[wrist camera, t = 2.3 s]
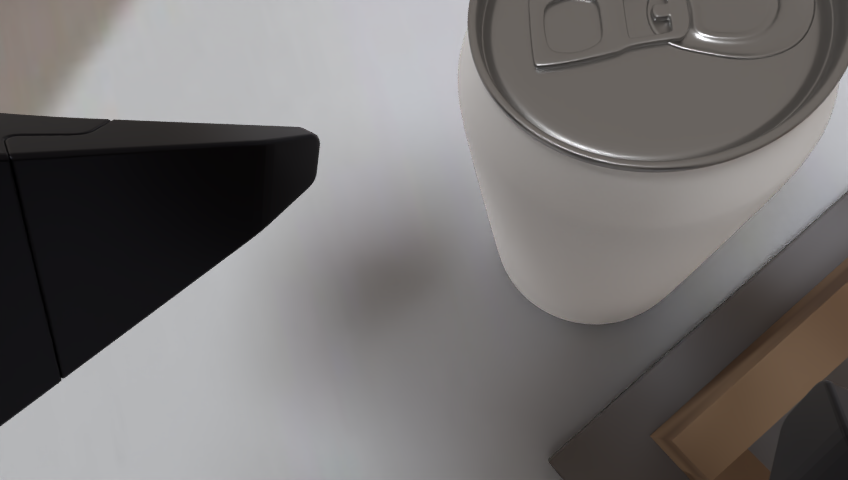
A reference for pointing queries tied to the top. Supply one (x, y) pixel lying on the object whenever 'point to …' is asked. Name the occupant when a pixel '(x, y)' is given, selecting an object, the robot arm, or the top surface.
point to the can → (637, 134)
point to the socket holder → (731, 374)
